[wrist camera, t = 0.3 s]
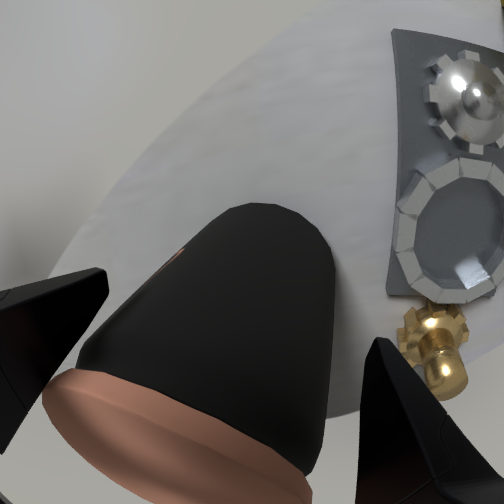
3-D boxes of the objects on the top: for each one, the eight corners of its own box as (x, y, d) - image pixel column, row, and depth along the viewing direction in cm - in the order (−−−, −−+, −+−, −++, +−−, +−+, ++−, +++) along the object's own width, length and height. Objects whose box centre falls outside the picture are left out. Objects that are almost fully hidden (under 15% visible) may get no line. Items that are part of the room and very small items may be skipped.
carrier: (491, 290, 20) (502, 306, 17) (383, 287, 22) (387, 305, 20) (511, 59, 12) (528, 56, 10) (388, 32, 15) (395, 21, 12)
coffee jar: (208, 185, 22) (0, 329, 7) (351, 216, 21) (370, 475, 5) (199, 301, 27) (84, 467, 11) (315, 332, 26) (273, 540, 10)
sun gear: (504, 157, 15) (524, 164, 12) (423, 145, 16) (436, 149, 14) (502, 65, 12) (521, 61, 10) (418, 46, 14) (430, 36, 11)
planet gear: (456, 349, 23) (475, 405, 17) (395, 359, 25) (402, 418, 19) (466, 292, 20) (496, 346, 14) (397, 303, 22) (412, 363, 16)
